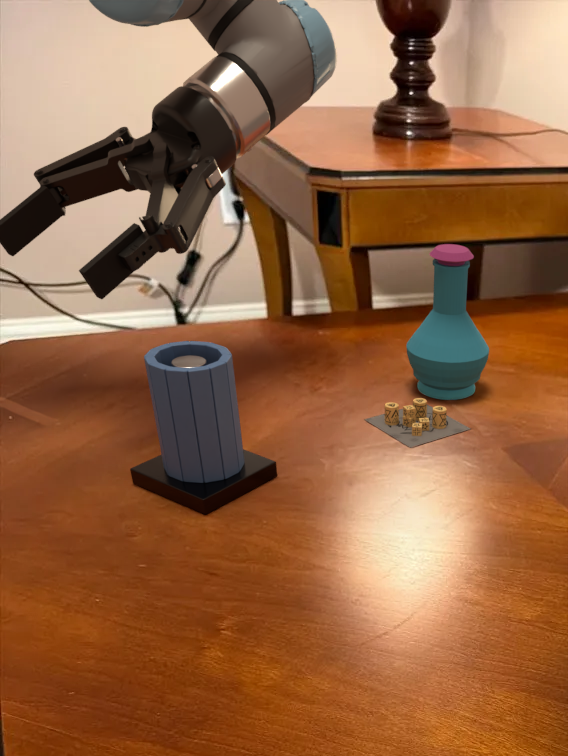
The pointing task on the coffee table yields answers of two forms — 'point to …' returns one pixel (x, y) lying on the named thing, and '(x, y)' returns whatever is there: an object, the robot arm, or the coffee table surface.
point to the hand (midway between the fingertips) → (43, 263)
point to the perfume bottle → (448, 332)
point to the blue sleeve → (196, 412)
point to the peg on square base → (204, 494)
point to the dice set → (416, 422)
